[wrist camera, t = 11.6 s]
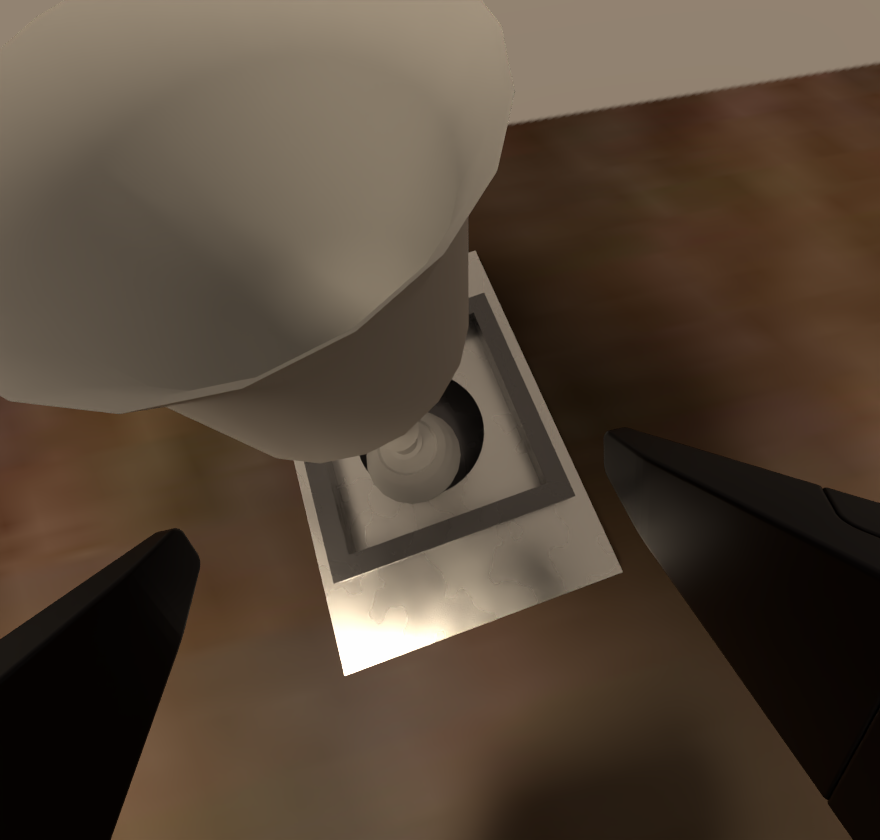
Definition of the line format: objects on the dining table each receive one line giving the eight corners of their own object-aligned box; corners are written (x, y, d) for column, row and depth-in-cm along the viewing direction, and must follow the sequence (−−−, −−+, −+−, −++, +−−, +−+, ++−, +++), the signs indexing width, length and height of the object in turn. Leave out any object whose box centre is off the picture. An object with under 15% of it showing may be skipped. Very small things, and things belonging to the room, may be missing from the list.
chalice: (406, 370, 23) (229, -123, 6) (505, 438, 22) (639, 28, 5) (321, 472, 22) (-218, 200, 5) (421, 553, 20) (156, 586, 3)
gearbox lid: (617, 571, 20) (635, 574, 18) (349, 670, 20) (334, 686, 18) (475, 259, 26) (475, 233, 24) (267, 329, 26) (248, 309, 24)
